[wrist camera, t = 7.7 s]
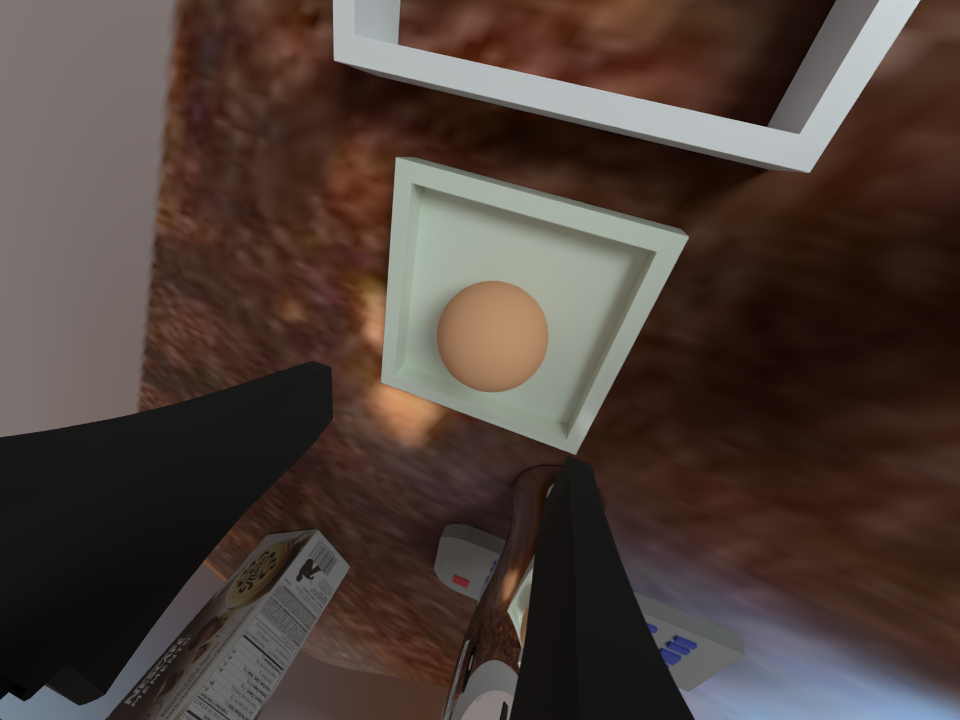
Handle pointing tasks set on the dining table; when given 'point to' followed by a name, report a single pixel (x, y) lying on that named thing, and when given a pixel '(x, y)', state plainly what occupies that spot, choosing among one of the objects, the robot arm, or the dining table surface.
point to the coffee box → (242, 635)
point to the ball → (492, 336)
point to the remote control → (679, 635)
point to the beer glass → (502, 612)
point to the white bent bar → (780, 146)
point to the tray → (534, 268)
